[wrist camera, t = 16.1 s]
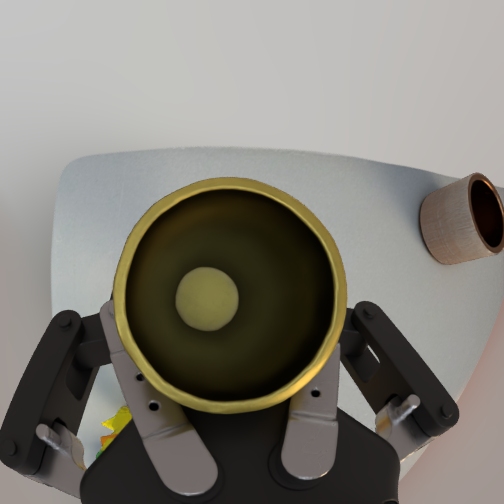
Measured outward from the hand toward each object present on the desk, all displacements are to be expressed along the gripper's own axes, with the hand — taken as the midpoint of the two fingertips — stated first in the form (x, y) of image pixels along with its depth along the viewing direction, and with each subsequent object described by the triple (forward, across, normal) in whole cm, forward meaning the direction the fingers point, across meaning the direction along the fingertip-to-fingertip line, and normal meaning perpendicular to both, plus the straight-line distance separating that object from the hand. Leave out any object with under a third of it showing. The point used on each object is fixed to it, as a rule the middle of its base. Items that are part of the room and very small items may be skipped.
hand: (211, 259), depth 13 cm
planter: (+15, -34, +7) cm, 37 cm away
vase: (+4, 0, +6) cm, 7 cm away
